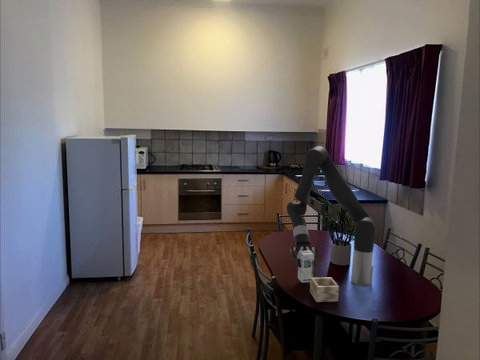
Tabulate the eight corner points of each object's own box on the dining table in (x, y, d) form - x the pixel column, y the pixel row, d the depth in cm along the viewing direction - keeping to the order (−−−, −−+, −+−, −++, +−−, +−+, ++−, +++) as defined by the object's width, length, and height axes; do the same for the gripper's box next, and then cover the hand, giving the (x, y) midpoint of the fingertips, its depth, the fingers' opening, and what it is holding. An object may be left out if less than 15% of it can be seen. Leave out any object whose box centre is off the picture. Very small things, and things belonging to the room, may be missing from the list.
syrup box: (302, 283, 187) (303, 254, 185) (297, 278, 193) (298, 250, 191) (312, 281, 189) (314, 253, 186) (307, 277, 195) (309, 249, 192)
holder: (330, 291, 184) (331, 277, 182) (338, 301, 174) (339, 286, 173) (309, 291, 182) (310, 277, 181) (316, 301, 172) (317, 287, 171)
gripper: (289, 233, 194) (294, 264, 184) (316, 232, 196) (323, 263, 186) (286, 239, 200) (290, 270, 190) (313, 239, 202) (319, 269, 192)
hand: (306, 267), depth 188 cm, fingers closed on syrup box, 6 cm apart
